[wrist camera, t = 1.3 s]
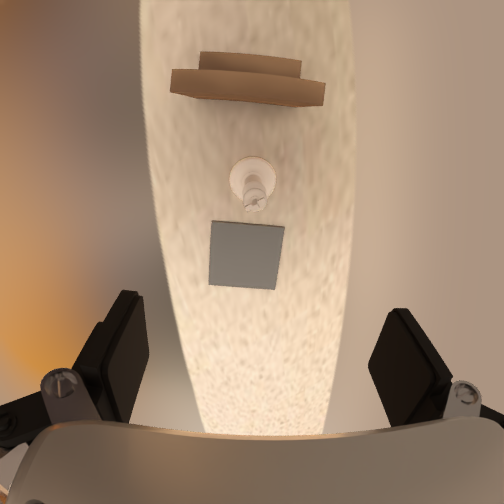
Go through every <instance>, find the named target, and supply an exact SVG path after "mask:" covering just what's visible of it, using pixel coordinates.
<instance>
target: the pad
mask: <svg viewBox="0 0 504 504" xmlns="http://www.w3.org/2000/svg"><path fill="white" fill-rule="evenodd" d="M283 234H284V227H281V226H270V225H258V224H247V223H235V222H223V221H212V225H211V244H210V265H209V285H218V286H231V287H243V288H257V289H271V290H275V286H276V280H277V274H278V267H279V261H280V254H281V248H282V241H283Z"/></svg>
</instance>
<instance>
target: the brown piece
mask: <svg viewBox="0 0 504 504" xmlns="http://www.w3.org/2000/svg"><path fill="white" fill-rule="evenodd" d="M301 62H302V61H300V60H293V59H286V58H279V57H271V56H262V55H252V54H240V53H224V52H200V61H199V69H172V76H171V86H170V92H172V93H176V94H181V95H185V96H189V97H193V98H199V99H219V100H234V101H246V102H257V103H266V104H275V105H283V106H290V107H306V106H323V101H324V93H325V84H326V83H322V82H317V81H311V80H305V79H300V71H301Z"/></svg>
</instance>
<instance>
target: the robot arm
mask: <svg viewBox="0 0 504 504" xmlns="http://www.w3.org/2000/svg"><path fill="white" fill-rule="evenodd" d="M148 358H149V347H148V339H147V331H146V322H145V312H144V302H143V297H142V296H139V295H138V292H137V291H129V290H122V291H121V292H120V294H119V296H118V298H117V299H116V301H115V302H114V304H113V306H112V308H111V309H110V311H109V313H108V314H107V316H106V318H105V320H104V321H103V322H98V323H97V324H96V326H95V327H94V329H93V331H92V333H91V335H90V336H89V338H88V340H87V341H86V343H85V345H84V347H83V349H82V350H81V352H80V354H79V356H78V357H77V359H76V361H75V363H74V365H73V367H72V369H68V368H58V369H54V370H52V371H50V372H49V373H47V374H46V375H45V376H44V377H43V379H42V381H41V384H40V388H41V391H39V392H36V393H33V394H31V395H28V396H26V397H23V398H20V399H17V400H15V401H12V402H9V403H6V404H4V405H1V406H0V504H504V415H503V414H501V413H499V412H497V411H495V410H493V409H490V408H488V407H486V406H484V405H482V404H481V401H482V399H481V394H480V391H479V390H478V389H477V387H475V386H474V385H473V384H471V383H469V382H467V381H460V380H459V381H456V382H454V383H453V384H452V382H451V379H452V377H453V375H452V374H451V372H450V371H449V369H448V367H447V366H446V365H445V363H444V361H443V360H442V358H441V356H440V355H439V354H438V352H437V350H436V349H435V347H434V346H433V344H432V343H431V341H430V340H429V339H428V337H427V336H426V334H425V332H424V331H423V330H422V328H421V327H420V325H419V324H418V322H417V321H416V319H415V318H414V317H413V315H412V314H411V312H410V311H409V310H408V309H407V308H394V309H393V310H392V311H391V312H389V313H388V315H387V318H386V320H385V323H384V325H383V328H382V331H381V333H380V336H379V338H378V341H377V343H376V346H375V348H374V350H373V353H372V355H371V357H370V360H369V363H368V369H369V372H370V374H371V376H372V379H373V381H374V384H375V386H376V389H377V392H378V394H379V397H380V399H381V402H382V404H383V407H384V409H385V412H386V415H387V417H388V420H389V422H390V425H391V427H390V428H383V429H376V430H368V431H358V432H348V433H336V434H321V435H297V436H253V435H228V434H213V433H201V432H191V431H182V430H172V429H164V428H157V427H149V426H143V425H136V424H129V420H130V417H131V413H132V410H133V407H134V404H135V400H136V397H137V394H138V390H139V387H140V384H141V381H142V377H143V374H144V371H145V368H146V365H147V362H148ZM11 483H12V485H11V487H10V491H9V493H8V489H9V485H10V484H11Z"/></svg>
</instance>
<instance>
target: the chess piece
mask: <svg viewBox="0 0 504 504" xmlns="http://www.w3.org/2000/svg"><path fill="white" fill-rule="evenodd" d="M229 182H230V187H231V189H232V191H233V193H234V194H235V195H236V196H237V197H238V198H239V199H241V200H243V204H244V206H245V209H246V211H247V212H249V211H252V212H258V211H261V210H262V209H264V208H265V206H266V204H267V198H268V197H269V196H270V195H271V193H272V192H273V190H274V188H275V185H276V174H275V171H274V169H273V167H272V166H271V164H270V163H268V162H267V161H266V160H264V159H262V158H259V157H247V158H244V159H242V160H240V161H238V162H237V163H236V164H235V165H234V166H233V168H232V170H231V172H230V177H229Z"/></svg>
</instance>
